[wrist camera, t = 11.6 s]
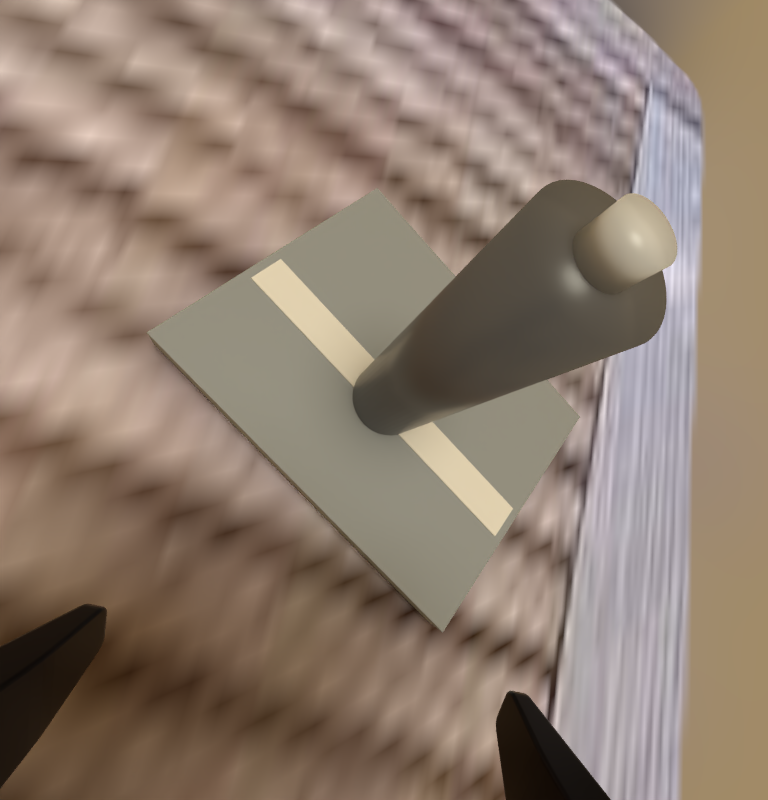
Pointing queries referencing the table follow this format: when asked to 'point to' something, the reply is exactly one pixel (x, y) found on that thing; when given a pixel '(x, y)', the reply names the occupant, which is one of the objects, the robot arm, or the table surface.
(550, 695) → the table surface
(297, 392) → the board
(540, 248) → the bottle
